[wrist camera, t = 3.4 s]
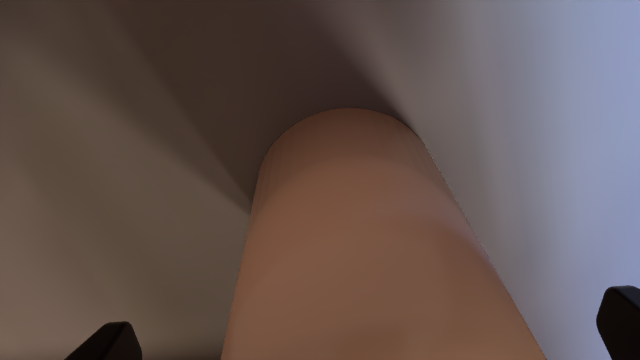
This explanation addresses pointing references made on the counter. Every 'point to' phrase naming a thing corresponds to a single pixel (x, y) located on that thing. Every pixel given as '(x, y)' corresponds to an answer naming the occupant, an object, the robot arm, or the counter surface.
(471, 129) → the counter surface
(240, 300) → the peach rounded cylinder
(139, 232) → the counter surface
